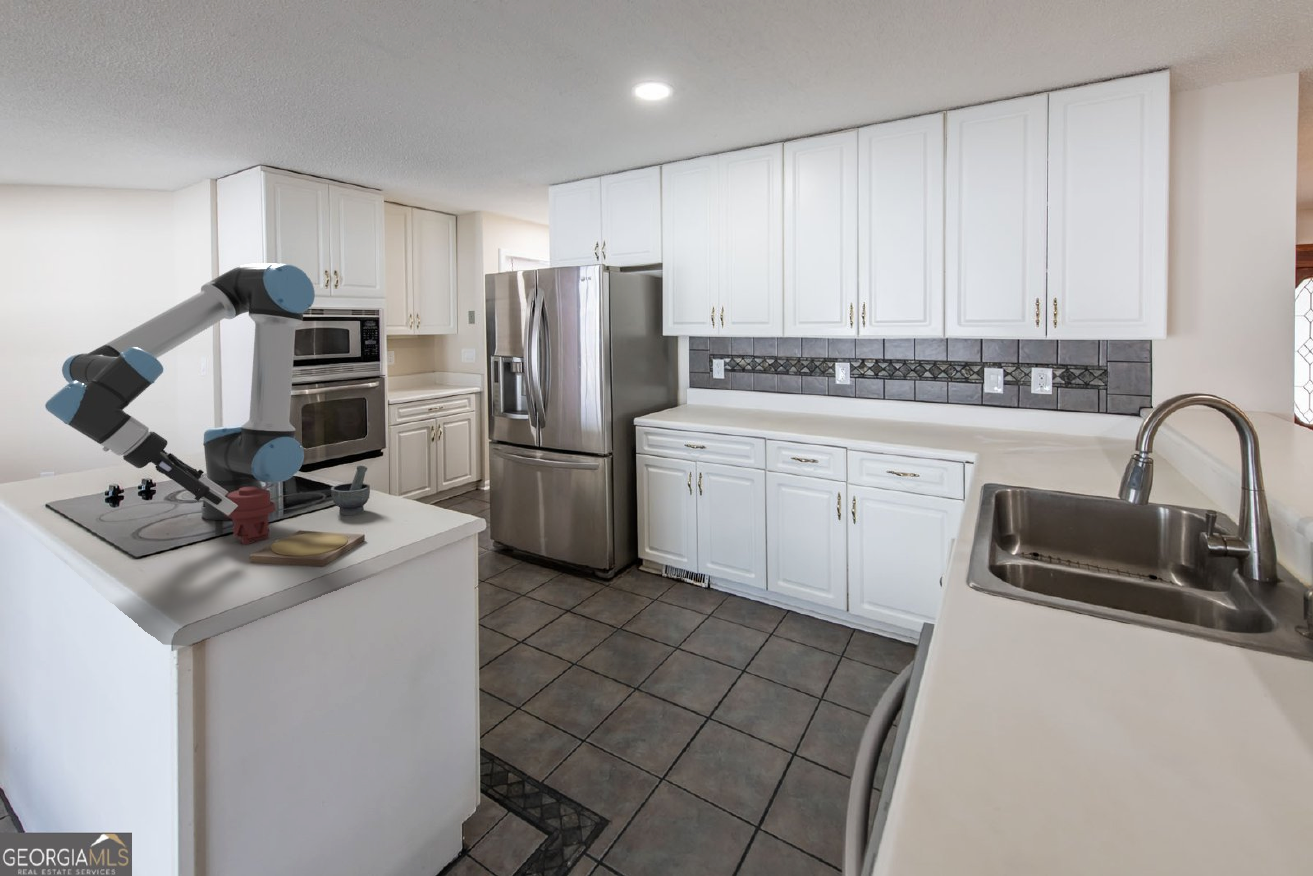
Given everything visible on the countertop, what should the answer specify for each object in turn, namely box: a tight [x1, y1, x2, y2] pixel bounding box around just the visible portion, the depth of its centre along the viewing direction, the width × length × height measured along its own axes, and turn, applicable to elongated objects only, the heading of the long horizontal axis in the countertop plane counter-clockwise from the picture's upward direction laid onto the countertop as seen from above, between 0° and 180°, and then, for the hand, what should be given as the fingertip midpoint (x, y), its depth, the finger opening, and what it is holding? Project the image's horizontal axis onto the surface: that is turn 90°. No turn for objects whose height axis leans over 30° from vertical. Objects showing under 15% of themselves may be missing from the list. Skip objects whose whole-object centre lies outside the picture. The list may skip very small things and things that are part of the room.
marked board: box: [249, 530, 366, 567], centre depth 142 cm, size 17×16×2 cm
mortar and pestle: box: [330, 465, 371, 516], centre depth 172 cm, size 11×9×12 cm
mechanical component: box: [224, 487, 276, 545], centre depth 147 cm, size 12×10×10 cm
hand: (228, 503), depth 143 cm, fingers open, 13 cm apart
